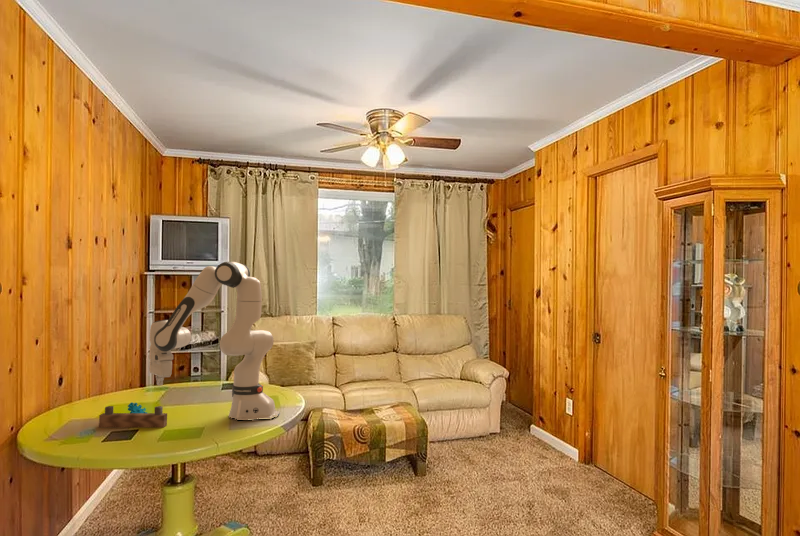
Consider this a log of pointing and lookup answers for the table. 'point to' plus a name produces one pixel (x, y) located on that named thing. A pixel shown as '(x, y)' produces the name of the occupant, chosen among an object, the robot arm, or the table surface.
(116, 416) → the stop bar
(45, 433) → the table surface
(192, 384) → the table surface
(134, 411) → the gear
